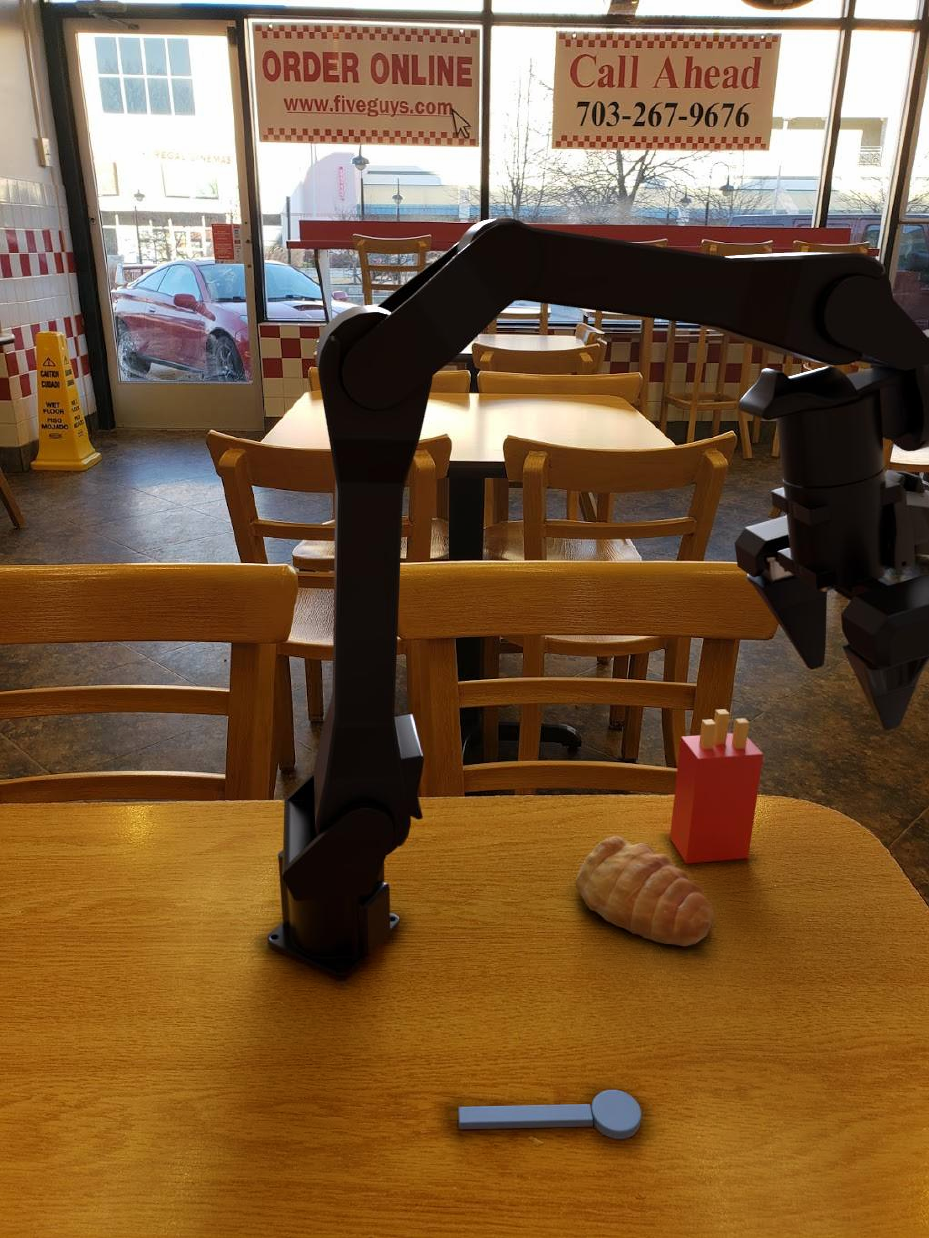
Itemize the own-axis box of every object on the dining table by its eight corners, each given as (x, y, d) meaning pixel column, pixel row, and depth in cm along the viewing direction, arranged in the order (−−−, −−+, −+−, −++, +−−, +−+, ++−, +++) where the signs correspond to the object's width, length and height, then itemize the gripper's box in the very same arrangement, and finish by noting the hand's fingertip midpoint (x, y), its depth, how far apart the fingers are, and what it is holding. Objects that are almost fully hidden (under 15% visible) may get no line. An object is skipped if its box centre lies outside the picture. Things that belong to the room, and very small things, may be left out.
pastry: (731, 921, 64) (738, 875, 63) (676, 970, 60) (681, 922, 59) (620, 861, 71) (624, 818, 69) (563, 902, 66) (565, 856, 65)
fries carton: (685, 864, 70) (702, 727, 66) (669, 837, 74) (683, 706, 69) (748, 858, 71) (768, 723, 67) (729, 832, 74) (747, 702, 70)
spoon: (459, 1143, 48) (459, 1134, 48) (457, 1100, 50) (457, 1092, 50) (645, 1139, 48) (646, 1130, 48) (634, 1096, 51) (635, 1088, 51)
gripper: (1074, 469, 48) (1068, 726, 54) (870, 412, 65) (883, 612, 71) (872, 527, 48) (889, 781, 54) (719, 454, 65) (745, 653, 71)
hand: (850, 695), depth 62 cm, fingers open, 9 cm apart
